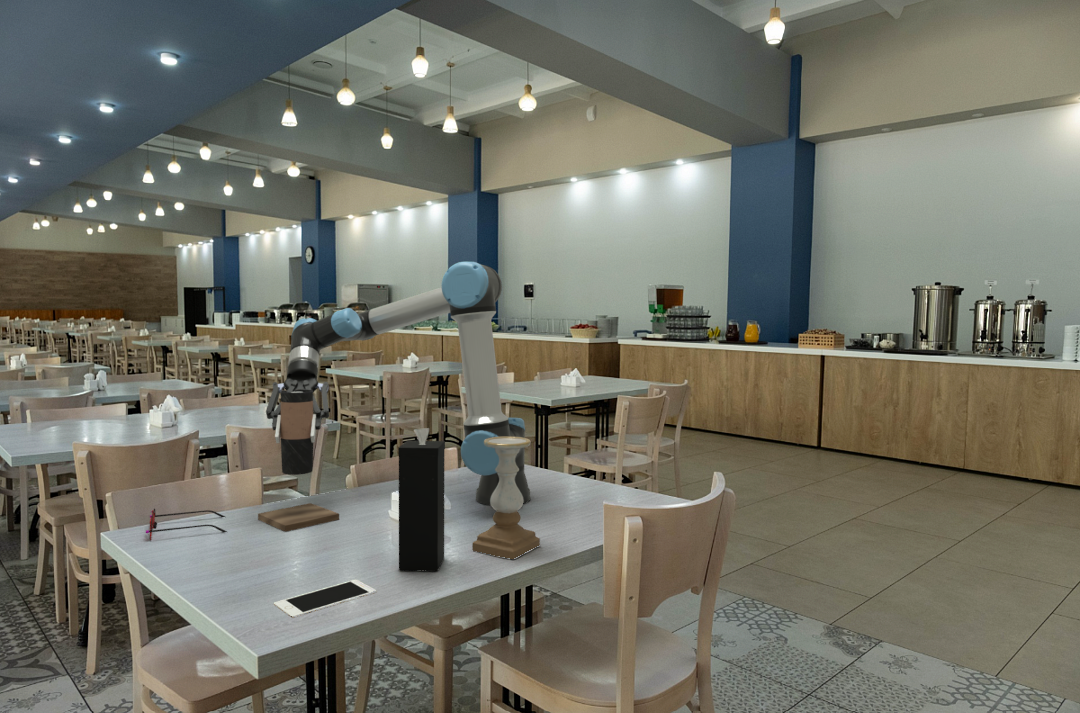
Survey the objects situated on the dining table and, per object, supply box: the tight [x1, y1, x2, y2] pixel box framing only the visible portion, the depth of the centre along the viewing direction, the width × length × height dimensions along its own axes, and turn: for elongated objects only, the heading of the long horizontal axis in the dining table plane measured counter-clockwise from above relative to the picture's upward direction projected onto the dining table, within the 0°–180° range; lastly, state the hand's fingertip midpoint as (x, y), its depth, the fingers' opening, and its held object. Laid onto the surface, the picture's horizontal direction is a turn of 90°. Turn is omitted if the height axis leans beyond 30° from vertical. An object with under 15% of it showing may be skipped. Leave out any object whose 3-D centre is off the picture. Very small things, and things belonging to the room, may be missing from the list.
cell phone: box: [273, 579, 377, 618], centre depth 123 cm, size 8×16×1 cm, turn 134°
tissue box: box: [397, 427, 446, 572], centre depth 139 cm, size 8×8×28 cm
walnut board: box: [257, 502, 340, 533], centre depth 170 cm, size 14×14×2 cm
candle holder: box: [471, 436, 541, 559], centre depth 149 cm, size 11×11×24 cm
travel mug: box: [280, 389, 314, 476], centre depth 169 cm, size 8×8×20 cm
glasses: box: [145, 508, 228, 541], centre depth 162 cm, size 14×16×5 cm
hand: (295, 439), depth 166 cm, fingers closed on travel mug, 7 cm apart
